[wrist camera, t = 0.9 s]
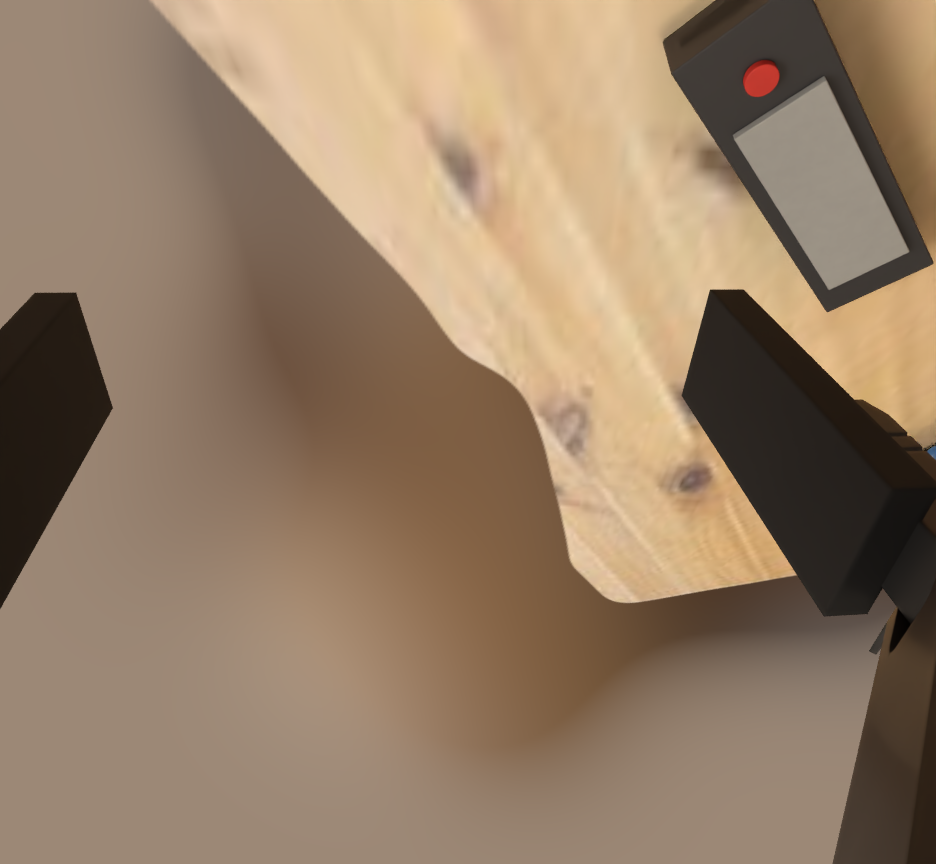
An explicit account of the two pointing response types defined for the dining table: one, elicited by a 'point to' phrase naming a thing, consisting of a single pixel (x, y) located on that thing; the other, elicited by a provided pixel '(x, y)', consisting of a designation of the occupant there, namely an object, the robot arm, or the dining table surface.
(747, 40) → the tv remote
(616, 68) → the dining table surface
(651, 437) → the dining table surface
